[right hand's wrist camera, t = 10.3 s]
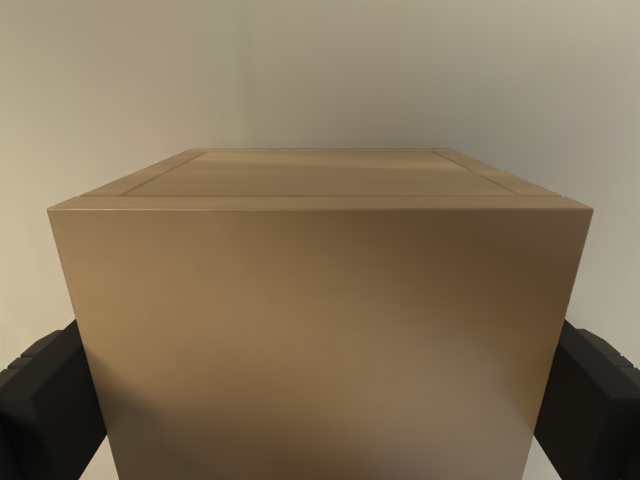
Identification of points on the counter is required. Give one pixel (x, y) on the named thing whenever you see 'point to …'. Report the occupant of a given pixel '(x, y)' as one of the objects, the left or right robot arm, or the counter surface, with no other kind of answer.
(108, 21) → the counter surface
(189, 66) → the counter surface
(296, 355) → the cabinet
